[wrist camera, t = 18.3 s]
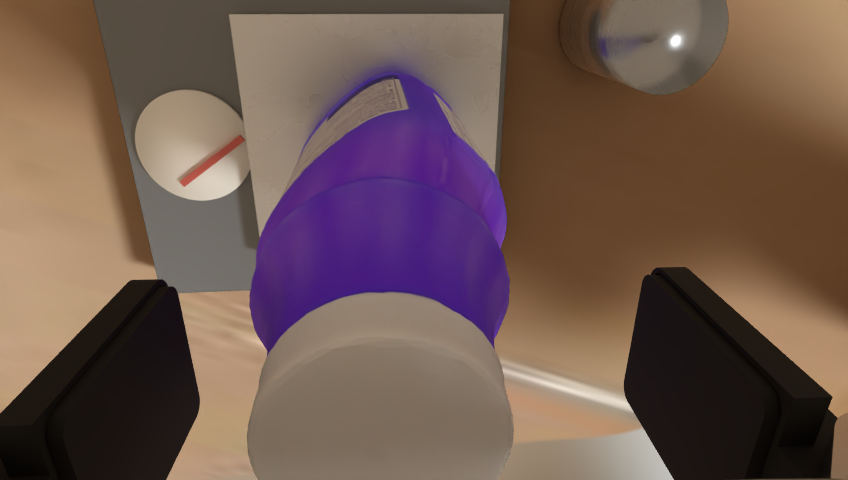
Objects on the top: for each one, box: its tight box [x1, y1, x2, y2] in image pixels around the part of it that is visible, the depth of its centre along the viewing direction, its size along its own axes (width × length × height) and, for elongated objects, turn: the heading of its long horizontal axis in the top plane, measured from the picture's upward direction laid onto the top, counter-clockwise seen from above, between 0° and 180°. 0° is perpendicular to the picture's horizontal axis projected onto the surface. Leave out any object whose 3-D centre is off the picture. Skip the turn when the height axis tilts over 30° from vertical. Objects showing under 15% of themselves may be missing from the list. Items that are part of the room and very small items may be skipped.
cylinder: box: [559, 0, 728, 95], centre depth 23 cm, size 4×4×6 cm
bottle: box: [247, 72, 514, 480], centre depth 16 cm, size 7×6×17 cm
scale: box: [93, 0, 510, 293], centre depth 25 cm, size 17×15×3 cm
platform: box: [229, 13, 504, 236], centre depth 24 cm, size 11×11×1 cm
